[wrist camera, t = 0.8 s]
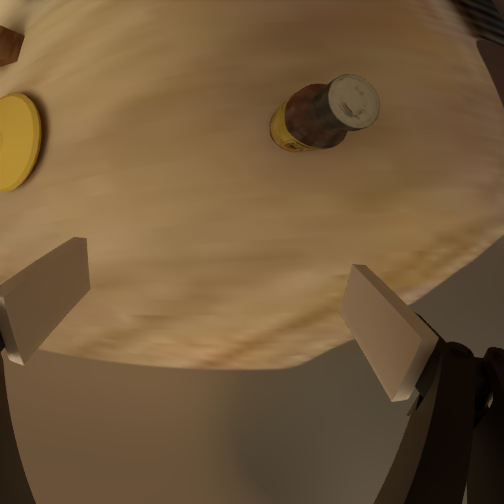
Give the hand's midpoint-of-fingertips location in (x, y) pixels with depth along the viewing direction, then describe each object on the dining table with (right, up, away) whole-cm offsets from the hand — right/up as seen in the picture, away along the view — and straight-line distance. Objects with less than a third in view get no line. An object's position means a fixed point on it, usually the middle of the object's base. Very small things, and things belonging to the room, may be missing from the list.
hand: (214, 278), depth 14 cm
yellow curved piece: (-36, +19, +20) cm, 45 cm away
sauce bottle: (+7, +17, +22) cm, 29 cm away
